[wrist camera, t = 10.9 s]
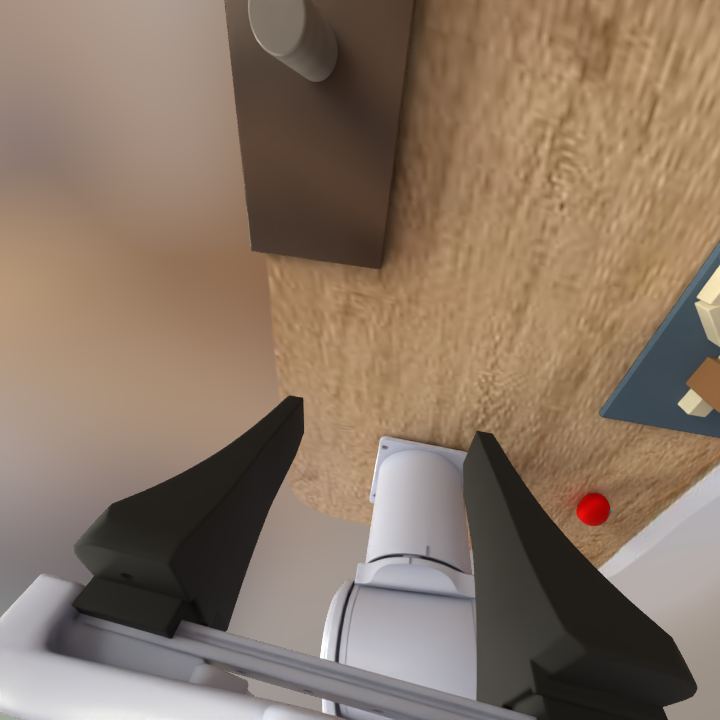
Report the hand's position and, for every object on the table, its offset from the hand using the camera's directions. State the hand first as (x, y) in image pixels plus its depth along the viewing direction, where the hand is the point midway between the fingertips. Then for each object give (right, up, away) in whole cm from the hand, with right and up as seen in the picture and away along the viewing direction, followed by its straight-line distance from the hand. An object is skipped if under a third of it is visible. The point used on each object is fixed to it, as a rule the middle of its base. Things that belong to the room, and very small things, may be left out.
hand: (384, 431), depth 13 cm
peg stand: (-3, +15, +2) cm, 16 cm away
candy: (+18, -9, +13) cm, 24 cm away
